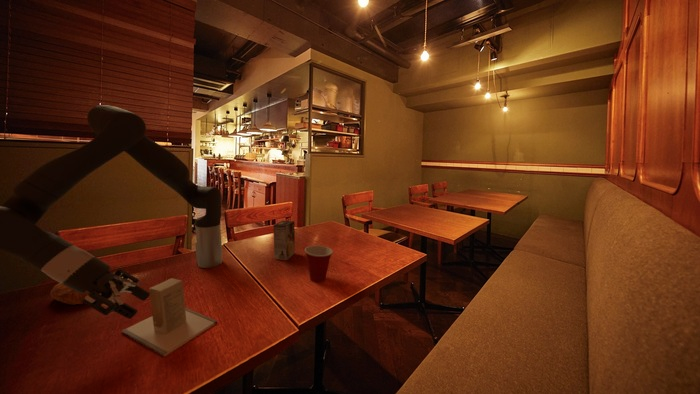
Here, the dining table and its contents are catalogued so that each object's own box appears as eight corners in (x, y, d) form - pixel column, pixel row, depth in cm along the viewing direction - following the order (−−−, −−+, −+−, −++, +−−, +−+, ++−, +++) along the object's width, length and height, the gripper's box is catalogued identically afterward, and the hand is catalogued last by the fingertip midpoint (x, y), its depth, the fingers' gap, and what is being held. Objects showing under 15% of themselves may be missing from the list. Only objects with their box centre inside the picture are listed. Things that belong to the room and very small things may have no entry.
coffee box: (282, 252, 127) (282, 220, 125) (295, 253, 126) (295, 221, 124) (273, 259, 119) (273, 224, 116) (286, 260, 117) (286, 226, 115)
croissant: (70, 318, 77) (68, 294, 75) (43, 300, 82) (39, 277, 80) (127, 294, 90) (126, 273, 88) (100, 279, 95) (98, 259, 93)
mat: (121, 333, 68) (121, 330, 68) (176, 306, 81) (176, 303, 81) (163, 356, 61) (163, 354, 60) (216, 322, 73) (216, 320, 73)
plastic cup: (335, 284, 97) (336, 253, 95) (306, 287, 94) (306, 255, 92) (329, 271, 108) (329, 243, 106) (302, 274, 105) (302, 245, 103)
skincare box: (176, 317, 74) (172, 277, 72) (187, 321, 73) (184, 279, 71) (152, 331, 68) (147, 287, 66) (163, 335, 67) (159, 291, 65)
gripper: (72, 269, 55) (142, 309, 61) (106, 247, 68) (161, 282, 74) (41, 296, 54) (116, 335, 60) (82, 268, 67) (140, 302, 73)
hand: (141, 305), depth 67 cm, fingers open, 8 cm apart
